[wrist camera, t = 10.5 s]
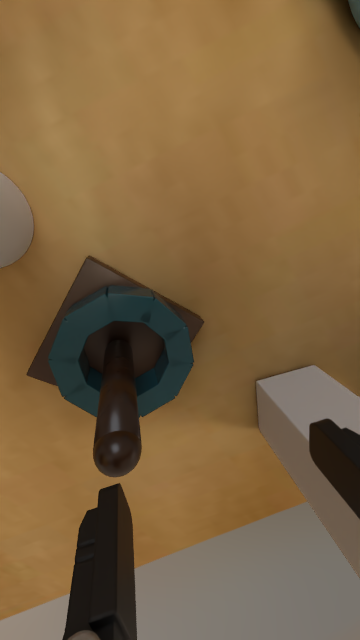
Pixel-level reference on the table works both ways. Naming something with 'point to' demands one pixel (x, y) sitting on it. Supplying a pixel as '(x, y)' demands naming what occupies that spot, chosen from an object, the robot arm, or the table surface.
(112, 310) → the ring
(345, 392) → the milk carton
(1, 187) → the cylindrical container
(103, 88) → the table surface
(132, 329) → the stand
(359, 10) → the teapot
